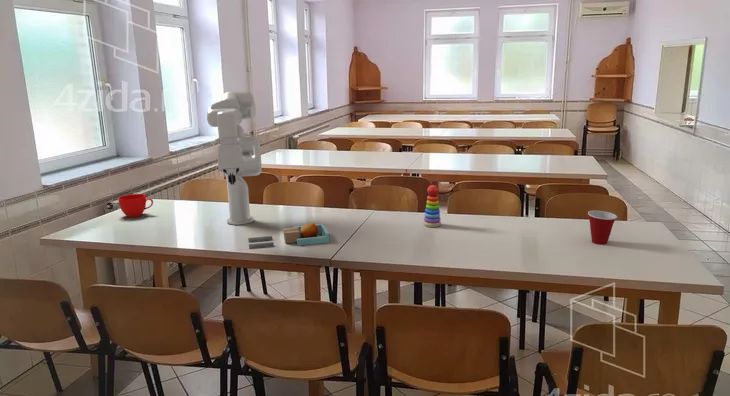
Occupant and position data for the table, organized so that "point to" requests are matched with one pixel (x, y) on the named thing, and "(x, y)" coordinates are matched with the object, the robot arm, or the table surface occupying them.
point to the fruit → (309, 230)
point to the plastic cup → (601, 226)
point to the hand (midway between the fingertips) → (232, 183)
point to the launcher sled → (291, 234)
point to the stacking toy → (432, 208)
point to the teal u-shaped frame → (315, 240)
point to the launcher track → (260, 243)
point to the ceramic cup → (133, 204)
